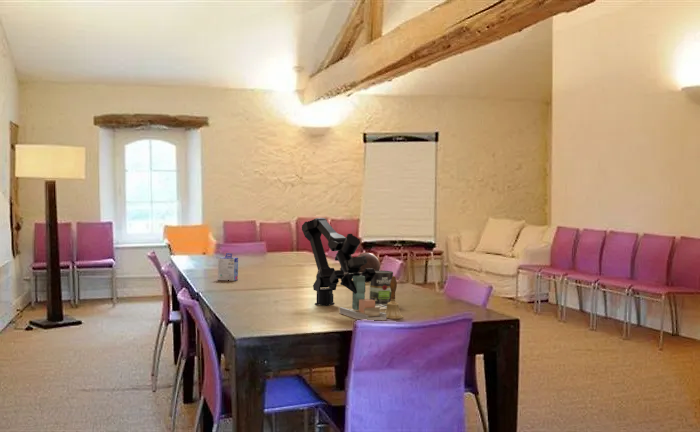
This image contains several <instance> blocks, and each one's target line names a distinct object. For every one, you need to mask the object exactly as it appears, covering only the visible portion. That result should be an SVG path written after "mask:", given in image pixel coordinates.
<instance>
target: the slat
mask: <svg viewBox="0 0 700 432" xmlns="http://www.w3.org/2000/svg"><path fill="white" fill-rule="evenodd" d="M352 281H353V283H354V286H355V288H356V291H357V293H356V294H355V293H353V292H352V299H351V300H352V301H351V302H352V307H351V308H348V309H349V310H353V311H356V312H359V313H362V314H366V315H369V316H368V317H372V316H380V307H373V308H364V313H363V312H360V311H359V300H360V299H366V298H365V297H366V282H365V276H361V275H359V276H353V279H352Z"/></svg>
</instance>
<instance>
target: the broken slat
mask: <svg viewBox="0 0 700 432" xmlns="http://www.w3.org/2000/svg"><path fill="white" fill-rule="evenodd" d="M375 307H380V312H385V311H386V307H382V306H379V305H375Z"/></svg>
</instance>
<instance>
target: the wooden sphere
mask: <svg viewBox="0 0 700 432" xmlns="http://www.w3.org/2000/svg"><path fill="white" fill-rule="evenodd" d="M361 256H365V257H366V259H367V263H366V264H365V265H363V266H361V270H360V271H359V272H362V273H363V272H364V270H365V269H371V268H373V269H374V270H375V271H381V263H380V259H379V258H378V257H377V256H376V255H375V254H373V253H370V252H363V253H360V254H358V255H357V256H356V257H361Z"/></svg>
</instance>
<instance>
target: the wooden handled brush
mask: <svg viewBox="0 0 700 432" xmlns="http://www.w3.org/2000/svg"><path fill="white" fill-rule="evenodd" d="M397 286H398V282H397V278H396V276H395V275H393V276H392V279H391V282H390V288H391V301H390V302H389V303H387V305H386V306H387V308H386V311H385V314H386V319H389V320H390V319H392V320H394V319H395V320H398V319H399V320H400V319H402V318H404V316H403V315H402V313H401V311H400V308H399V307H400V305H399V303H398V302H396V291H397Z"/></svg>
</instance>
